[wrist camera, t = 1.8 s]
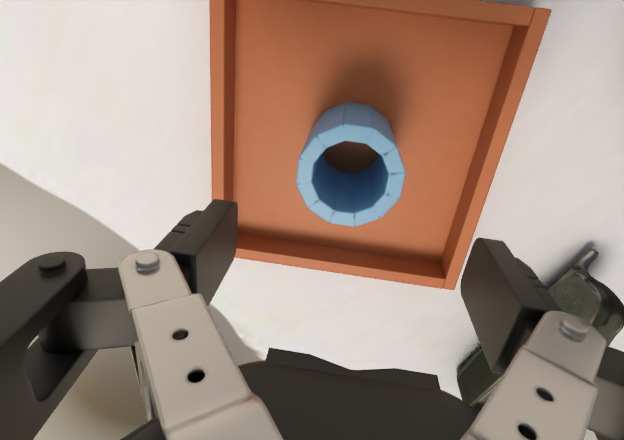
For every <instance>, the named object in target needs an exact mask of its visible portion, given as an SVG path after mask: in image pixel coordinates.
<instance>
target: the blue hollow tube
mask: <svg viewBox="0 0 624 440" xmlns="http://www.w3.org/2000/svg"><path fill="white" fill-rule="evenodd" d="M343 141H351V142H358V143H365V144H367V145H368V146H370V147H371V148H372V149H373V150H375V151H376V152H377V153H379V156H378V158H377V159H376V160H375V161H374V163H373V164H372V165H371V166H370V167H369V168H368V169H366V170H363V171H361V172H358V173H355V174H351V173H344V172H339V171H338V170H336V169H335V168H334V167H332V166H331V165H329V164H328V163H327V161H326V158H325V156H324V154H323V152H324V151H325V149H326V148H328V147H331V146H333V145H336V144H338V143H341V142H343ZM405 171H406V170H405V167H404V165H403V162H402V159H401V156H400V153H399V150H398V147H397V145H396V142H395V139H394V136H393V133H392V131H391V128H390V125H389V122H388V120H387V118H385V117H384V116H383V115H382V114H380V113H379V112H378V111H377V110H376V109H374V108H373V107H372V106H371V105H368V104H361V103H353V102H347V103H346V102H344V103H342V104H340V105H337V106H335V107H333V108H330V109H328V110H326V111H325V112H323V114H322V115H321V117H320V118H319V119H318V121H317V122H316V123H315V125H314V126H313V127H312V129H311V131H310V134H309V136H308V138H307V140H306V143H305V145H304V147H303V149H302V152H301V154H300V157H299V159H298V167H297V178H296V183H297V187H298V190H299V192H300V194H301V196H302V198H303V200H304V202H305V204H306V206H307V207H308V208H309V209H310V210H311V211H313V212H314V213H315V214H317V215H318V216H320V217H321V218H322V219H324V220H325V221H327V222H329V223H331V224H338V225H345V226H352V227H355V226H359V225H362V224H365V223H368V222H371V221H374V220H377V219H380V217H383V216H384V215H385V214H386V213H387V212H388V210H389V209H390V208H391V207H392V206H393V205H394V204H395V203H396V202H397V201H398V200H399V198H400V196H401V192H402V188H403V184H404V179H405V175H406V172H405Z"/></svg>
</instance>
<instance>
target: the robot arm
mask: <svg viewBox="0 0 624 440" xmlns="http://www.w3.org/2000/svg"><path fill="white" fill-rule="evenodd" d="M237 233H238V204H237V202H234V201H227V200H220V199H214V200H213V201H212V202H211V203H210V204H209V205H208V207H207V208H206V209H205V210H204V211H198V210H197V211H195V212H192V213H190V214H188V215H186V216H184V217H183V219H182V220H181V221H180V222H179V223H178V225H176V226H175V227H174V228H173V229H172V231H171V232H169V233H168V234H167V236H166V237H165V238H164V239H163V240H162V241H161V242H160V243H159V244H158V245H157V246H156V247H155V248H154V249H153V250H142V251H138V252H135V253H132V254H130V255H128V256H126V257H125V258H123V259H122V260H121V262H120V263H119V266H118V268H104V269H86V265H85V259H84V258H83V257H82V256H81V255H79V254H76V253H73V252H54V253H48V254H44V255H41V256H38V257H36V258H33V259H31V260H29V261H28V262H26V263H25V264H24V265H22V266H21V267H20V268H18V269H17V270H16V271H14V272H13V273H12V274H10V275H9V276H8V277H6V278H5V279H4V280H2V281H1V282H0V440H33V439H34V437H35V436H36V434H37V433H38V432H39V430H40V429H41V428H42V426H43V425H44V424H45V422H46V421H47V419H48V418H49V417H50V415H51V414H52V413H53V411H54V410H55V409H56V407H57V406H58V404H59V403H60V402H61V400H62V399H63V398H64V396H65V395H66V393H67V392H68V391H69V389H70V388H71V386H72V385H73V384H74V382H75V381H76V380H77V378H78V377H79V376H80V374H81V373H82V371H83V370H84V369H85V367H86V366H87V365H88V363H89V362H90V360H91V359H92V358H93V356H94V355H95V354H96V352H97V351H98V349H107V348H118V347H129V346H130V350H131V354H132V359H133V363H134V368H135V372H136V376H137V381H138V385H139V389H140V394H141V398H142V403H143V408H144V414H145V419H146V423H145V424H143V425H142V426H140V427H139V428H137V429H136V430H134V431H133V432H131V433H130V434H128V435H127V436H125V437H123V438H122V439H120V440H584V437H585V433H586V430H587V429H589V430H591V431H593V432H595V435H596V437H597V439H598V440H624V352H622V351H619V350H616V349H613V348H611V347H608V346H606V340H605V338H604V336H603V335H602V334H601V333H600V332H599V330H598V329H596V328H595V327H594V326H593V325H591V324H590V323H588V322H587V321H585V320H583V319H581V318H579V317H577V316H575V315H572V314H569V313H565V312H563V311H562V310H561V309H560V307H559V306H558V304H557V303H556V302H555V300H554V299H553V298H552V296H551V295H550V294H549V292H548V291H547V289H544V285H543V284H542V283H541V281H540V280H538V277H537V276H536V274H535V273H534V272H533V270H532V269H531V268H530V267H529V266H527V265H526V264H525V263H524V262H522V261H521V260H520V259H518V258H515V257H514V256H513V254H512V253H511V252H510V250H509V249H508V247H507V246H506V244H505V243H504V242H503V241H498V240H491V239H484V238H477V239H476V241H475V242H474V244H473V247H472V250H471V253H470V256H469V259H468V261H467V264H466V267H465V270H464V273H463V276H462V279H461V295H462V298H463V300H464V303H465V306H466V308H467V311H468V313H469V316H470V318H471V321H472V323H473V326H474V329H475V331H476V334H477V336H478V339H479V341H480V344H481V346H482V349H483V351H484V354H485V357H486V359H487V362H488V364H489V367H490V369H491V372H492V373H496V374H502V375H503V376H502V377H501V379H500V381H499V382H498V384H497V385H496V387H495V389H494V390H493V392H492V393H491V395H490V397H489V398H488V400H487V401H486V403H485V404H484V406H483V408H482V409H481V411H480V412H478V411H476V410H475V409H474V408H472V407H471V406H470V405H468V404H467V403H465V402H464V401H462V400H460V399H459V398H457V397H455V396H453V395H451V394H449V393H447V392H445V391H442V390H440V386H439V382H438V377H437V375H432V374H426V373H420V372H414V371H408V370H401V369H395V368H394V369H374V370H350V369H347V368H344V367H341V366H339V365H336V364H333V363H331V362H328V361H326V360H323V359H320V358H318V357H315V356H312V355H310V354H304V353H298V352H292V351H285V350H279V349H273V348H269V351H268V354H267V358H266V361H256V362H250V363H246V364H242V365H239V366H238V365H237V363H236V361H235V359H234V358H233V356H232V353H231V351H230V350H229V347H228V346H227V344H226V342H225V340H224V338H223V336H222V334H221V332H220V330H219V328H218V326H217V324H216V322H215V320H214V318H213V316H212V314H211V312H210V310H209V308H208V305H209V304H210V302H211V300H212V298H213V296H214V294H215V293H216V291H217V289H218V287H219V285H220V283H221V282H222V280H223V278H224V276H225V274H226V272H227V271H228V269H229V267H230V265H231V263H232V262H233V260H234V257H235V254H236V249H237ZM37 335H38V336H39V338H38V339H37V340H36V341H35V342H34V343H33V344H32V345H31V346H30V347H29V348H28V346H29V345H30V343H31V342H32V340H33V339H34V338H35V337H36V336H37ZM27 348H28V349H27Z"/></svg>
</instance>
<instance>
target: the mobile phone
mask: <svg viewBox="0 0 624 440" xmlns="http://www.w3.org/2000/svg"><path fill="white" fill-rule="evenodd" d="M598 254H599V253H598V252H597V251H596V250H594V249H591V248H590V249H589V250H587V251H586V252H585V253H584V254H583V255H582V256H581V258H580V259H579V260H578V261H577V262H576V263H575V264H574V265H573V266H572V267H571V268H570V269H569V270H568V271H567V272H566V273H565V274H564V275H563V276H562V277H561V278H560V279H559V280H558V281H557V282H556V283H555V284H553V285H552V286H551V287H549V288H548V289H547V291H548V292H549V294H550V295H551V296H552V298H553V299H554V300H555V302H556V303H557V304H558V306H559V307H560V309H561V310H562V311H563V312H565V313H569V314H572V315H575V316H577V317H579V318H581V319H583V320H585V321H587V322H588V323H590V324H591V325H593V326H594V327H595V328H596V329H598V330H599V332H600V333H601V334H602V335H603V336H604V338H605V340H606V346H609V345H610V343H611V342H612V340H613V339H614V337H615V336H616V335H617V334H618V333H619V332H620V331H621V329H622V328H623V326H624V305H623V304H622V302H621V301H620V299H619V298H618V297H617V296H616V295H615V294H614V293H613V292H612V291H611V290H610V289H609V288H608V287H607V286H605V285H604V284H603V283H601V282H599V281H597V280H595V279H594V278H593V277H591V276H590V275H589V273H588V272H587V269H588V266H589V265H590V264H591V262H593V261H594V260H595V259H596V258H597V257H598ZM502 376H503V375H502V374H496V373H492V372H491V369H490V367H489V364H488V362H487V359H486V357H485V354H484V351H483V349H482V347H481V348H480V349H479V350H478V351H477V352H476V353H475V354H474V355H472V356H471V357H470V358H469V359H468V360H467V361H466V362H465V363H464V364H463V366H462V367H461V368H460V370H459V371H458V374H457V382H458V386H459V390H460V393H461V397H462V400H463V401H464V402H465V403H467V404H468V405H470V406H471V407H472V408H474V409H475V410H476V411H478V412H480V411H481V409H482V408H483V406H484V404H485V403H486V401H487V400H488V398H489V397H490V395H491V393H492V392H493V390H494V389H495V387H496V385H497V384H498V382H499V381H500V379H501V377H502Z"/></svg>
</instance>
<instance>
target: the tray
mask: <svg viewBox="0 0 624 440" xmlns="http://www.w3.org/2000/svg"><path fill="white" fill-rule="evenodd" d="M550 13H551V10H550V9H545V8H534V7H528V6H520V5H511V4H503V3H494V2H486V1H477V0H210V74H211V157H212V201H213V200H214V199H220V200H227V201H234V202H237V204H238V233H237V249H236V254H235V257H236V258H242V259H249V260H256V261H262V262H269V263H276V264H282V265H289V266H295V267H302V268H309V269H315V270H322V271H329V272H335V273H342V274H349V275H355V276H362V277H369V278H375V279H382V280H389V281H395V282H402V283H408V284H415V285H422V286H428V287H435V288H444V289H450V290H454V289H455V286H456V283H457V280H458V277H459V275H460V272H461V269H462V266H463V263H464V260H465V257H466V254H467V252H468V249H469V246H470V243H471V240H472V237H473V234H474V232H475V229H476V226H477V223H478V220H479V217H480V214H481V211H482V209H483V206H484V203H485V200H486V197H487V194H488V191H489V188H490V186H491V183H492V180H493V177H494V174H495V171H496V168H497V166H498V163H499V160H500V157H501V154H502V151H503V148H504V145H505V143H506V140H507V137H508V134H509V131H510V128H511V125H512V122H513V120H514V117H515V114H516V111H517V108H518V105H519V102H520V100H521V97H522V94H523V91H524V88H525V85H526V82H527V79H528V77H529V74H530V71H531V68H532V65H533V62H534V59H535V56H536V54H537V51H538V48H539V45H540V42H541V39H542V36H543V34H544V31H545V28H546V25H547V22H548V19H549V16H550ZM344 102H346V103H347V102H353V103H361V104H368V105H371V106H372V107H373V108H374V109H376V110H377V111H378V112H379V113H380V114H382V115H383V116H384V117H385V118H387V120H388V122H389V125H390V128H391V131H392V133H393V136H394V139H395V142H396V145H397V147H398V150H399V153H400V156H401V159H402V162H403V165H404V167H405V170H406V171H405V172H406V175H405V179H404V184H403V188H402V192H401V196H400V198H399V200H398V201H397V202H396V203H395V204H394V205H393V206H392V207H391V208H390V209H389V210H388V212H387V213H386V214H385V215H384V216H383V217H380V219H377V220H374V221H371V222H368V223H365V224H362V225H359V226H355V227H352V226H345V225H338V224H331V223H329V222H327V221H325V220H324V219H322V218H321V217H320V216H318V215H317V214H315V213H314V212H313V211H311V210H310V209H309V208H308V207H307V206H306V204H305V202H304V200H303V198H302V196H301V194H300V192H299V190H298V187H297V183H296V178H297V167H298V159H299V157H300V154H301V152H302V149H303V147H304V145H305V143H306V140H307V138H308V136H309V134H310V131H311V129H312V127H313V126H314V125H315V123H316V122H317V121H318V119H319V118H320V117H321V115H322V114H323V112H325V111H326V110H328V109H330V108H333V107H335V106H337V105H340V104H342V103H344ZM323 154H324V156H325V158H326V161H327V163H328V164H329V165H331V166H332V167H334V168H335V169H336V170H338V171H339V172H344V173H351V174H355V173H358V172H361V171H363V170H366V169H368V168H369V167H370V166H371V165H372V164H373V163H374V161H375V160H376V159H377V158H378V156H379V153H377V152H376V151H375V150H373V149H372V148H371V147H370V146H368V145H367V144H365V143H358V142H351V141H343V142H341V143H338V144H336V145H333V146H331V147H328V148H326V149H325V151H324V152H323Z"/></svg>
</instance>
